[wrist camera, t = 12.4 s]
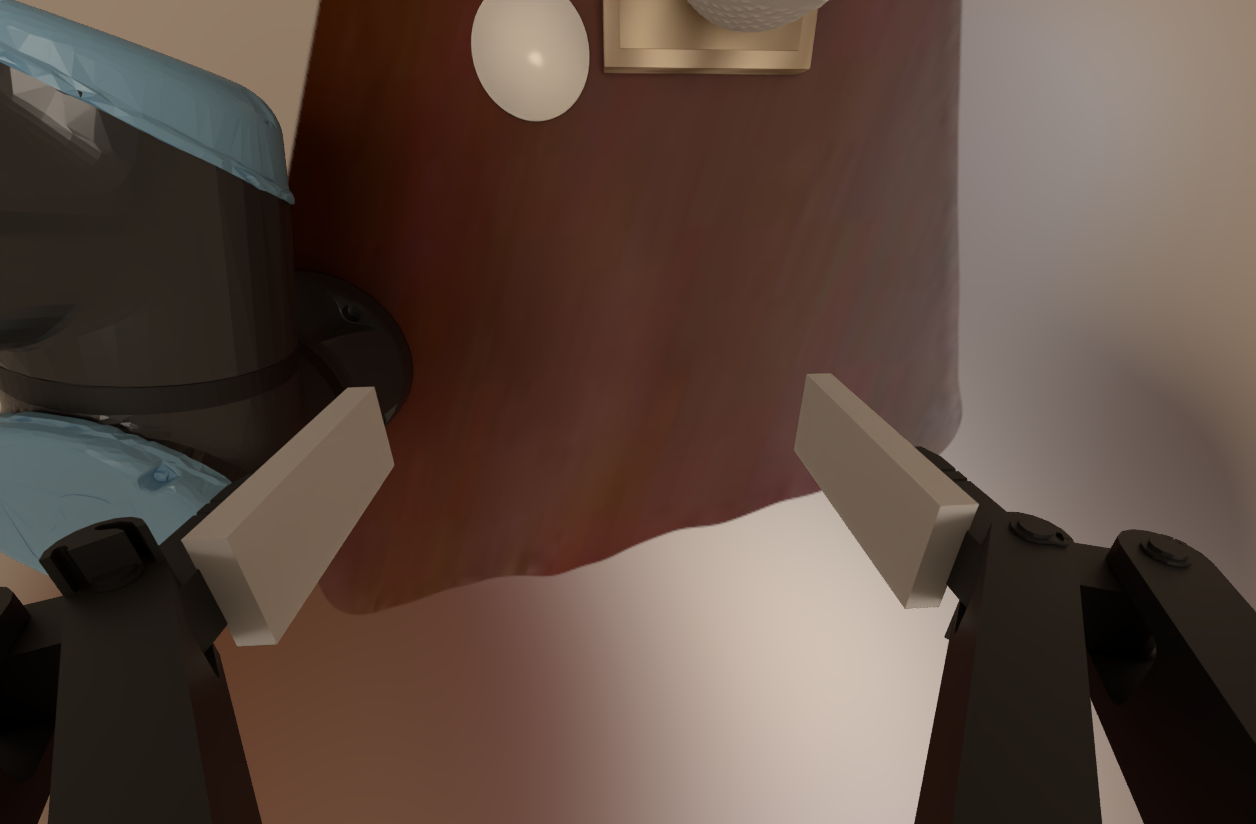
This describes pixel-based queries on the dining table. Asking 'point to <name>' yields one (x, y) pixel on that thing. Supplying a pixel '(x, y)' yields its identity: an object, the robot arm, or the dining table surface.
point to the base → (698, 42)
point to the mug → (754, 13)
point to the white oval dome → (530, 55)
